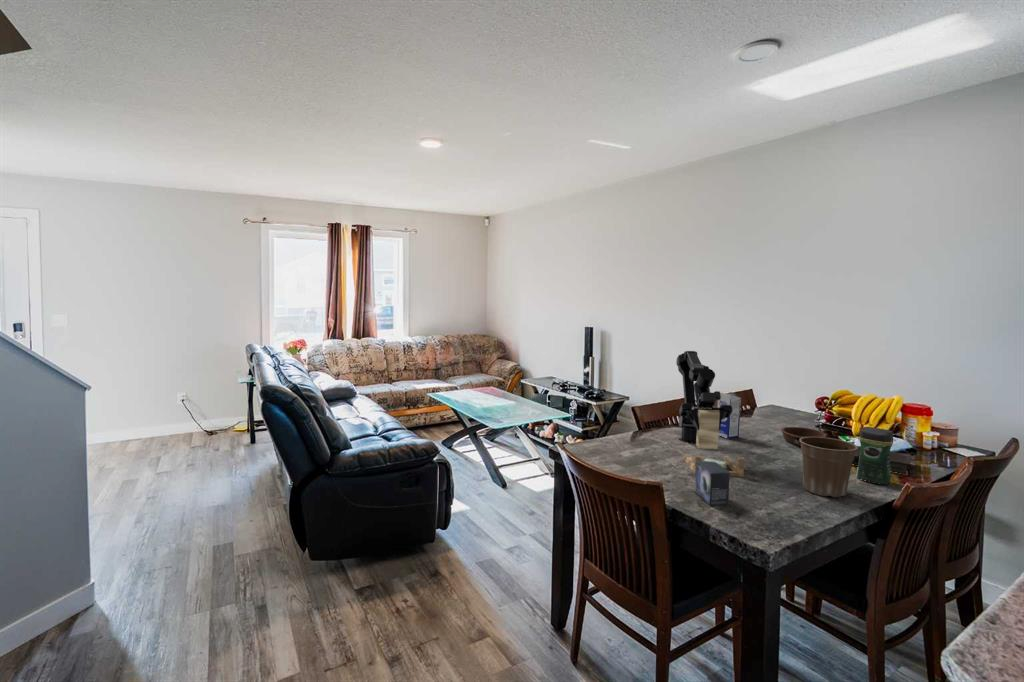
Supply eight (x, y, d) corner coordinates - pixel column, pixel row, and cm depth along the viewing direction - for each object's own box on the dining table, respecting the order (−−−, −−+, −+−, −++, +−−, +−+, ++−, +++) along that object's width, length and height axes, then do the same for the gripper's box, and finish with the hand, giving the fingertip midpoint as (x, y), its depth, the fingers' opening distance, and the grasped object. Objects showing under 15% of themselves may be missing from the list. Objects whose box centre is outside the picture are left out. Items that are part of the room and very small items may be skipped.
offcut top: (706, 462, 193) (706, 458, 193) (726, 466, 189) (726, 462, 188) (703, 464, 190) (703, 460, 190) (723, 468, 186) (723, 464, 186)
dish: (776, 445, 226) (777, 433, 225) (783, 434, 244) (784, 423, 243) (823, 452, 216) (824, 440, 215) (827, 440, 234) (828, 429, 233)
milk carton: (715, 435, 239) (717, 391, 237) (726, 433, 242) (728, 390, 240) (727, 439, 233) (730, 394, 231) (739, 437, 235) (741, 393, 233)
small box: (693, 492, 170) (695, 461, 169) (713, 492, 171) (714, 460, 170) (708, 506, 160) (710, 472, 159) (729, 505, 160) (731, 472, 159)
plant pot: (809, 478, 185) (812, 433, 183) (861, 492, 172) (865, 444, 170) (787, 489, 174) (790, 441, 173) (841, 504, 162) (845, 453, 160)
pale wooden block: (696, 445, 203) (698, 409, 201) (715, 446, 202) (717, 410, 200) (698, 448, 199) (700, 412, 198) (717, 449, 199) (719, 412, 197)
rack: (683, 460, 202) (684, 443, 201) (728, 462, 200) (729, 444, 200) (694, 476, 185) (695, 456, 184) (743, 478, 183) (744, 459, 183)
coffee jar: (892, 482, 182) (897, 429, 181) (886, 487, 177) (890, 433, 175) (860, 474, 190) (864, 423, 188) (853, 479, 184) (857, 427, 183)
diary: (834, 452, 218) (835, 440, 218) (910, 465, 203) (911, 453, 202) (827, 463, 203) (828, 450, 203) (908, 478, 188) (909, 464, 188)
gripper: (682, 382, 203) (687, 418, 193) (732, 384, 201) (740, 420, 191) (677, 398, 211) (681, 433, 202) (725, 399, 209) (732, 435, 200)
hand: (708, 430), depth 198 cm, fingers closed on pale wooden block, 7 cm apart
